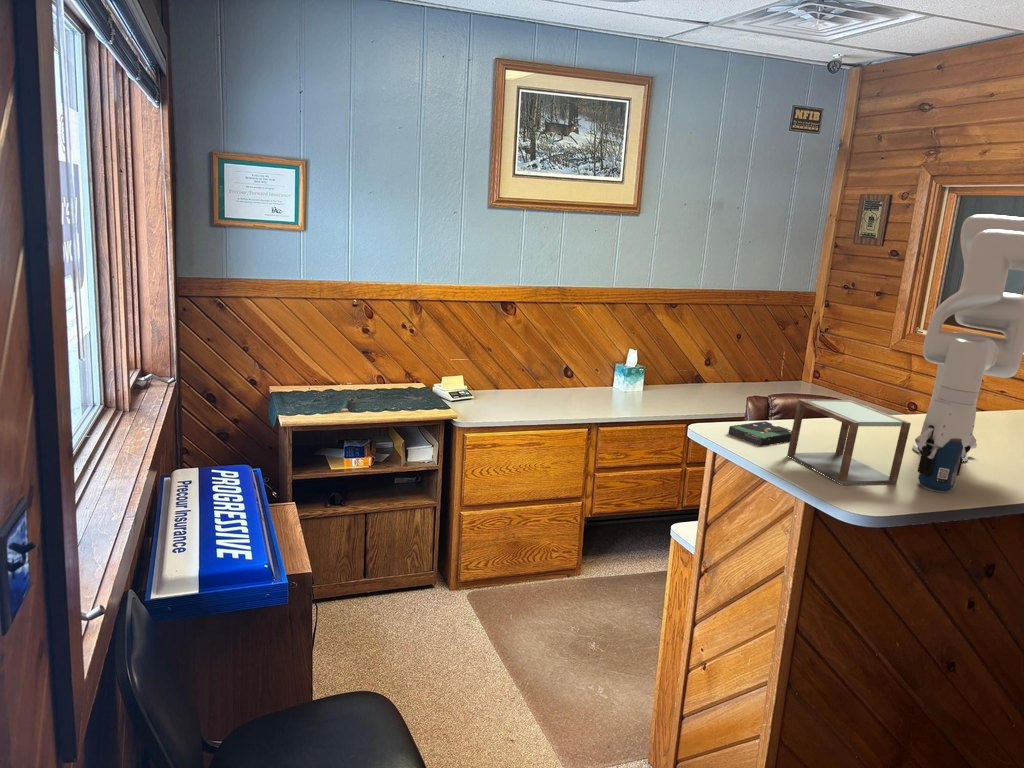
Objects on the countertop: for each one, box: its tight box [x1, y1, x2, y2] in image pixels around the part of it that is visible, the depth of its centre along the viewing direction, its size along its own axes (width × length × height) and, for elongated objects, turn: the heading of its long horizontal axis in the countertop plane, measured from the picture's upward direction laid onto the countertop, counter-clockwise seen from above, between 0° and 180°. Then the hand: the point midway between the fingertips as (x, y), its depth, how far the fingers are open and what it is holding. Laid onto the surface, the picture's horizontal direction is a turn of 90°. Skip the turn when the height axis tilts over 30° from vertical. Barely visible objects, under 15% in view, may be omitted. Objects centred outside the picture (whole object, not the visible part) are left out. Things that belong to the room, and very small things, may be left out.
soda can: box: [918, 439, 963, 493], centre depth 166 cm, size 7×7×12 cm
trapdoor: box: [808, 401, 902, 427], centre depth 170 cm, size 16×12×1 cm
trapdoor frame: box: [786, 398, 912, 485], centre depth 172 cm, size 18×15×14 cm
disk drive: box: [728, 421, 792, 447], centre depth 193 cm, size 10×3×15 cm
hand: (937, 473), depth 167 cm, fingers open, 7 cm apart
